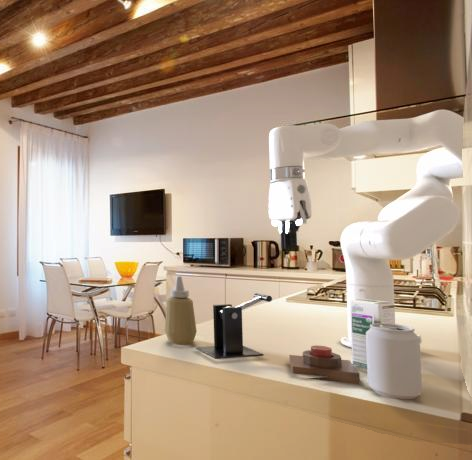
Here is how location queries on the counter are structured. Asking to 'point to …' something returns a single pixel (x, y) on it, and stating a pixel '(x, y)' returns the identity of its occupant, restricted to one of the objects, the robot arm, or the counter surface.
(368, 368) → the can
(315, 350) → the button
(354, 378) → the button block
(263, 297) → the lever
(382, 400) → the counter surface
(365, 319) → the syrup box
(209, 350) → the bracket
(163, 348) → the counter surface
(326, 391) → the counter surface
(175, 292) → the squeeze bottle
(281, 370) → the counter surface
